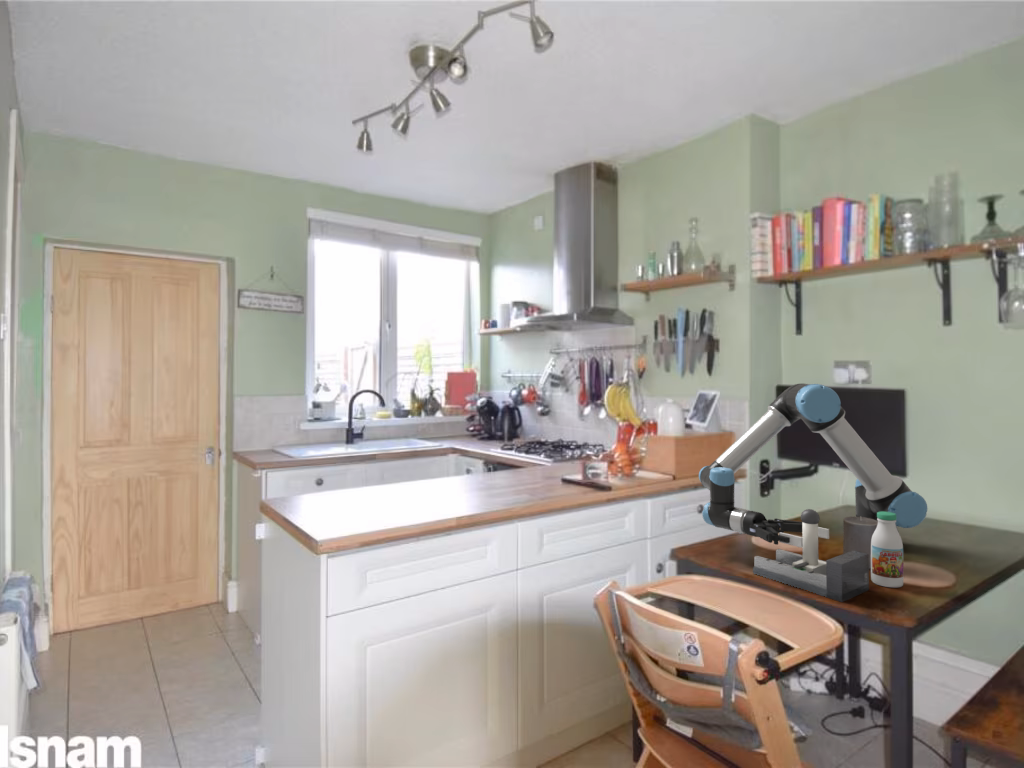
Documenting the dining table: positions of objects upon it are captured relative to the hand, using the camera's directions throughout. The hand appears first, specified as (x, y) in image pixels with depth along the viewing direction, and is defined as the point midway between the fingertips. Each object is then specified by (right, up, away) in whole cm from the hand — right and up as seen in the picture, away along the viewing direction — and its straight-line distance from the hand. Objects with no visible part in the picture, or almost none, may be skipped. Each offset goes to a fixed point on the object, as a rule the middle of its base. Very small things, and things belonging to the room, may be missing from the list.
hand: (815, 538), depth 163 cm
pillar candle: (+22, -12, +16) cm, 30 cm away
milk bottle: (+20, -13, 0) cm, 24 cm away
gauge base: (-1, -13, +2) cm, 13 cm away
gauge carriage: (-2, -11, +1) cm, 11 cm away
